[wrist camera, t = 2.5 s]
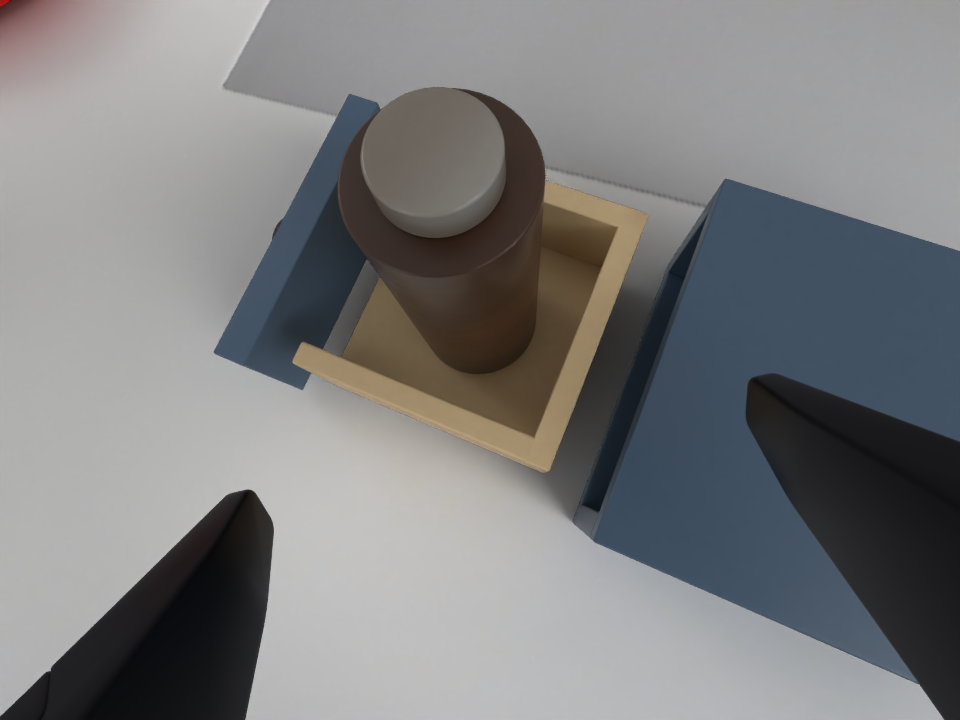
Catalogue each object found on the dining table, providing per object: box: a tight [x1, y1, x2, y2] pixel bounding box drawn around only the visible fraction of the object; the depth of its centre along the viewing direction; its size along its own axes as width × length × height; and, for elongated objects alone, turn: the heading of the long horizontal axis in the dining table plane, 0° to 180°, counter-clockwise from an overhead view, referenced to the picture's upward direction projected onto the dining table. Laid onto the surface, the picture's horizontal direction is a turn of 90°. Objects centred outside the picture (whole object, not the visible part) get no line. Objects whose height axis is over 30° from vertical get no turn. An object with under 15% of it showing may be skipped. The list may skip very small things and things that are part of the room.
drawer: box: [214, 94, 648, 473], centre depth 20 cm, size 13×10×5 cm
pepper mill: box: [338, 87, 545, 374], centre depth 15 cm, size 4×4×11 cm
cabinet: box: [573, 179, 960, 685], centre depth 18 cm, size 13×12×7 cm
